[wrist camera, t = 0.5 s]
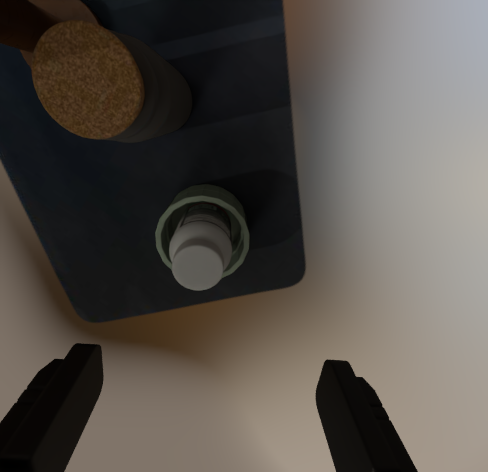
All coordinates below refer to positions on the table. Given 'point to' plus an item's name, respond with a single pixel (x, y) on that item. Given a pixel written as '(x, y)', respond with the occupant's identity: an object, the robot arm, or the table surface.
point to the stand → (37, 21)
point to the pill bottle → (201, 246)
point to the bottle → (107, 84)
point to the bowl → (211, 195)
